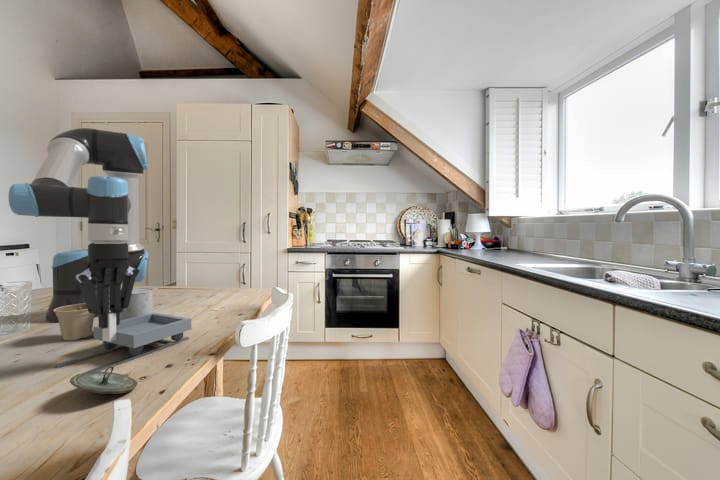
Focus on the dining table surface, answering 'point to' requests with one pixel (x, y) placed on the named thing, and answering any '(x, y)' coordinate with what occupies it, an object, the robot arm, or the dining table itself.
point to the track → (154, 344)
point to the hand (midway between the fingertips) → (109, 340)
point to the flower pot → (74, 321)
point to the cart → (145, 331)
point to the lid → (104, 382)
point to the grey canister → (138, 304)
